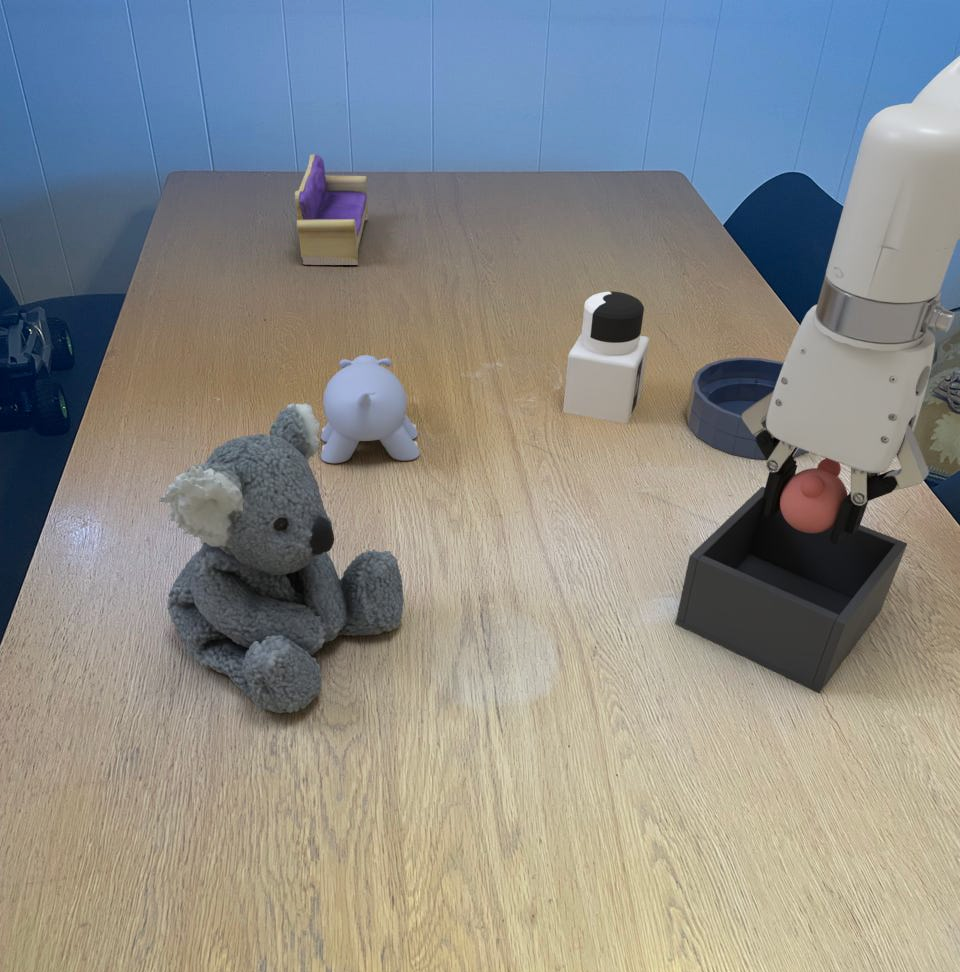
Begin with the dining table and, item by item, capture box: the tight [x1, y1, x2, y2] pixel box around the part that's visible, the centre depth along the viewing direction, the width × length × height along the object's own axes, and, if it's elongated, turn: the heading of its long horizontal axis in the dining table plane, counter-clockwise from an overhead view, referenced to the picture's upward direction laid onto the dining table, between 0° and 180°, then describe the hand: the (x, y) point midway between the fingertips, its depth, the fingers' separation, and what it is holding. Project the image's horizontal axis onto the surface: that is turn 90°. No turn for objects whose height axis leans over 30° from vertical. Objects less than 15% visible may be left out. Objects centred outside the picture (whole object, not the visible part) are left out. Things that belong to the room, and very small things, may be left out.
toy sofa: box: [294, 154, 369, 261], centre depth 147 cm, size 21×9×10 cm, turn 0°
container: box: [562, 291, 650, 425], centre depth 110 cm, size 8×8×13 cm
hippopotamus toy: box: [320, 354, 421, 464], centre depth 104 cm, size 11×15×10 cm
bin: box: [675, 486, 908, 693], centre depth 84 cm, size 14×14×8 cm
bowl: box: [685, 356, 809, 460], centre depth 109 cm, size 15×15×5 cm
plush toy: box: [780, 458, 849, 533], centre depth 78 cm, size 5×5×6 cm
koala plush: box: [158, 401, 405, 714], centre depth 77 cm, size 17×18×20 cm
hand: (807, 520), depth 79 cm, fingers closed on plush toy, 5 cm apart
